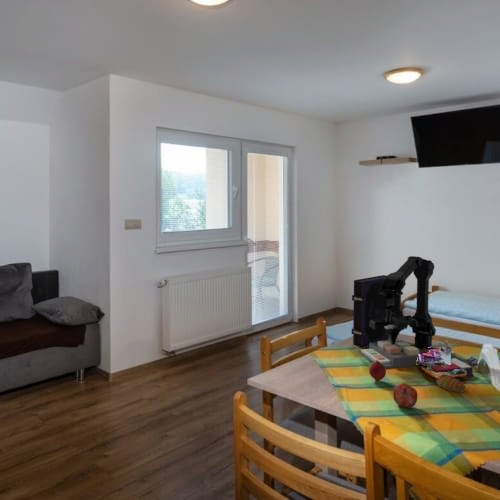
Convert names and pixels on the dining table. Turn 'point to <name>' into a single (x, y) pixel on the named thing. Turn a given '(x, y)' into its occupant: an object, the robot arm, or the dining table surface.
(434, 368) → the calculator
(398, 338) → the key slate
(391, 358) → the keypad console
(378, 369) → the onion
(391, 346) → the key terracotta
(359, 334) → the book
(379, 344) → the light grey key
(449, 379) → the pastry
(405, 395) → the pomegranate
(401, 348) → the key sage
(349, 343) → the dining table surface
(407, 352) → the key sand
